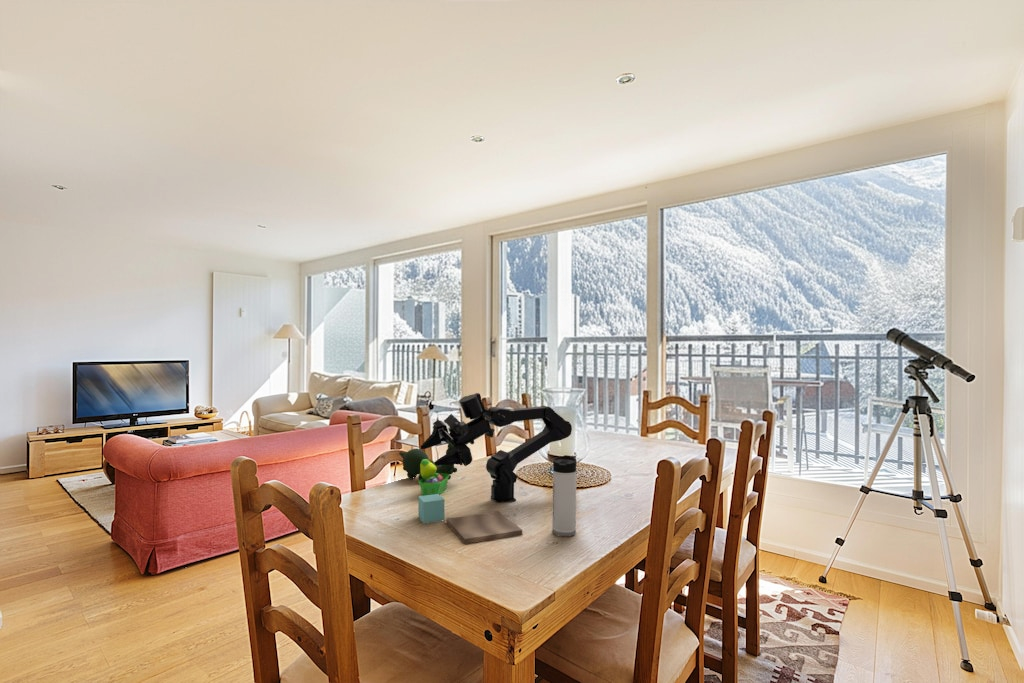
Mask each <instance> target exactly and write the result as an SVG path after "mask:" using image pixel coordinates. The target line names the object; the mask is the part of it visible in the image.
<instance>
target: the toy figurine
mask: <svg viewBox="0 0 1024 683" xmlns="http://www.w3.org/2000/svg"><path fill="white" fill-rule="evenodd" d="M450 440H451V439H450ZM444 442H445V443H446V444H447V449H446V451H445V455H446V454H447V453H449V452H450V451H451V450H452V448H453V446H452V445H451V444H450V443H449V442H448V441H447V440H446V441H444ZM398 453H399V455H400V457H401V458H402V466H403V468H402V470H403V471H405V472H406V476H407V478H409V479H410V478H412V479H413V477H415V478H417V477H418V480H419V481H420V480H421V479H422V478H423V477H422V475H421V472H420V470H421V468H420V464H421V461H422V460H423V459H427V460H429V461H430V462H431V463H433V464H434V465H435V463H434V462H435V461H434V460H432V459H430V458H429V456H428V454H427V453H426V452H425V450H424V449H421V448H412V449H410V450H408V451H407V452H406V451H405V452H404V451H399V452H398ZM435 466H436V468H437V470H436V473H440V474H449V478H448V481H449V480H451V478H452V476H451V475H453V474H454V473H457V472H458V468H457V467H455V464H447V465H435ZM412 479H411V480H412ZM413 480H414V479H413Z"/></svg>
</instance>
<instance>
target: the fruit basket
mask: <svg viewBox="0 0 1024 683" xmlns="http://www.w3.org/2000/svg"><path fill="white" fill-rule="evenodd" d="M420 468H421V470H420V472H421V475H422V477H423V478H422V479H421V480H419V481H418V484H419V487H420V491H421V494H422V495H421V496H425V495H433V494H440V495H441V494H442V493H443V492H444V491H445V490H446V489H447V484H448V481H449V480H448V478H449V474H440V473H436V470H437V468H436V466H435V465H434V464H433V463H431V462H430V461H429V460H427V459H423V460H422V461H421V464H420ZM441 492H442V493H441Z"/></svg>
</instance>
